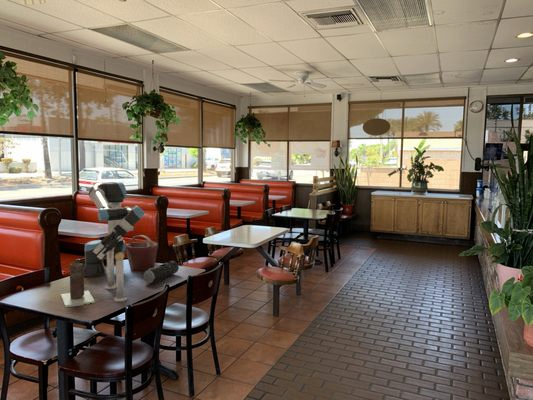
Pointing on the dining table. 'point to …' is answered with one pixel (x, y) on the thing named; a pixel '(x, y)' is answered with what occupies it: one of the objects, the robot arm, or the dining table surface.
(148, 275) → the muzzle brake
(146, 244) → the bucket
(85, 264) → the robot arm
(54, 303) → the dining table surface
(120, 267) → the stanchion posts
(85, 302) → the sage board
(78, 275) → the rusty metal cylinder
